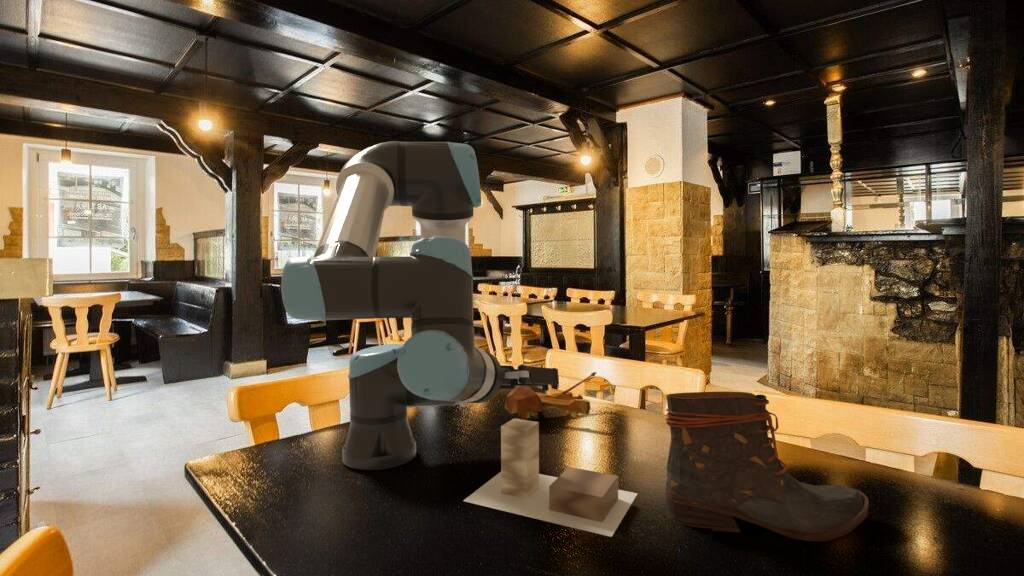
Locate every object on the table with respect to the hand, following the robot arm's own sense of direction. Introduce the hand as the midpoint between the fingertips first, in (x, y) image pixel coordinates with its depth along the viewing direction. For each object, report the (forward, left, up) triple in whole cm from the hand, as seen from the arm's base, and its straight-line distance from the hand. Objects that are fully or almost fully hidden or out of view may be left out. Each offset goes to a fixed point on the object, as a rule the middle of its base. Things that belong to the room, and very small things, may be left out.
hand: (507, 384), depth 92 cm
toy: (-11, +48, -20) cm, 53 cm away
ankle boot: (+41, +10, -20) cm, 46 cm away
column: (+1, +2, -19) cm, 20 cm away
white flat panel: (+7, +2, -20) cm, 21 cm away
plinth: (+13, +2, -19) cm, 24 cm away
